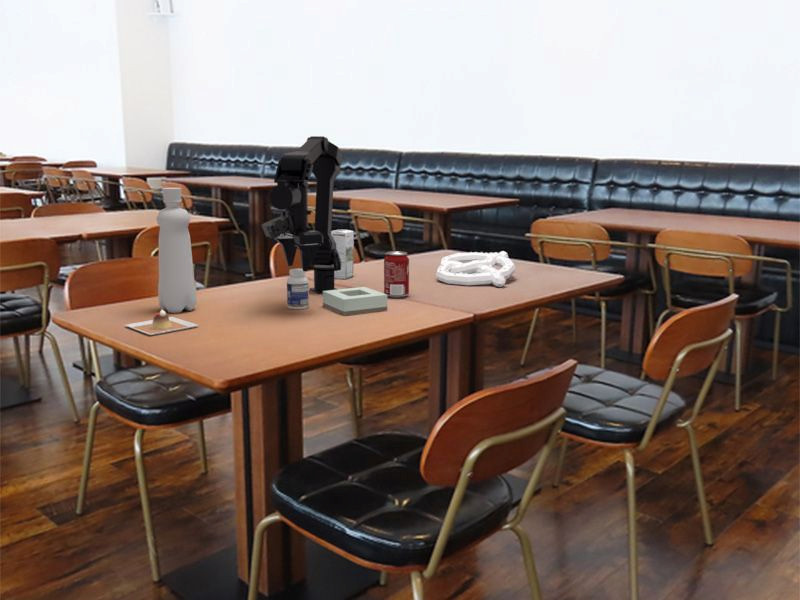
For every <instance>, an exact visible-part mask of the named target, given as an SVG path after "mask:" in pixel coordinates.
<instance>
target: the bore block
mask: <svg viewBox="0 0 800 600" xmlns="http://www.w3.org/2000/svg"><path fill="white" fill-rule="evenodd" d="M337 289H338V288H337ZM322 307H323V308H325V307H326V309H328V310H330V311H333V312H335V313H337V314H339V315H342V316H344V317H346V316H352V315H353V316H354V315H360V314H361V315H362V314H369V313H378V312H386V311H385V310H387V311H388V297H387V294H384V292H380V291H377V290H374V289H372V288H369V287H367V286H360V287H350V288H342V289H341V288H340V289H338V290H329V291H323V293H322Z"/></svg>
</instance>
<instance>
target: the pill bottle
mask: <svg viewBox="0 0 800 600" xmlns="http://www.w3.org/2000/svg"><path fill="white" fill-rule="evenodd" d="M306 272H307V271H303V269H302V268H290V269H289V272H288V273H289V276H290V277H288V278H287V279H286V297H287V298H286V299H287V301H286V302H287V308H288V309H290V310H305V309H309V305H310V302H309V301H310V300H309V299H310V297H309V296H310V295H309V294H310V293H309V279H308V278H307V277H306Z"/></svg>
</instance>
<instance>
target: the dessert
mask: <svg viewBox="0 0 800 600" xmlns="http://www.w3.org/2000/svg"><path fill="white" fill-rule="evenodd" d="M171 322H174V323H177V324H180V325H183V326H185V327H179V328H174V329H171V328H173V326H172V323H171ZM147 325H151V327H150V329H151V330H153V331H154V330H156V331H157V332H153V333H151V332H147V331H144V330H141V329H139V328H136V327H141V326H147ZM124 326H125V327H128V328H130V329H133V330H135V331H137V332H140V333H143V334H146V335H149V336H157V335H163V334H168V333H173V332H174V333H175V332H179V331H184V330H188V329H194V328H196V327H198V326H199V324H196V323H193V322H190V321H187V320H184V319H182V318H178V317H175V316H169V315H168V314H167V313H166V311H163V310H162V308H161V310H160V311H157V312H156V313H155V314H154V315H153V319H151V320H145V321H138V322H133V323H127V324H124ZM158 330H159V332H158ZM161 330H162V331H161Z"/></svg>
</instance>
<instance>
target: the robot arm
mask: <svg viewBox="0 0 800 600" xmlns="http://www.w3.org/2000/svg"><path fill="white" fill-rule="evenodd" d="M342 164H343V154H342V152H341V150H340V148H339V146H337V145H335V144H334V143H332V142H331V141H329V139H328V137H325V136H324V135H323V136H321V135H320V136H316V135H314V136H309V137H307V139H306V141H305V142H304V143H303V144H302V145H301V146H300V147H299V148H297V150H296V151H292V152H286V153H284V154H282V155H281V157H280V159H279V160H278V162H277V167H276V170H275V174H274V175H275V176H274V180H273V182H274V183H275V184H277V185H276V186H275V187H272V189H271V191H270V193H269V200H270V201H269V202H270V204H271V205H272V206H273V207H274V208H275V209H277V210H281V211H280V216H278V217H276V218H273V219H271V220H268V221H266V222H264V223H262V224H261V228H262V229H263V233H264V235H265V237H266V238H268V237H269V239H274V240H275V241H276V242H278V244H280V245H281V248H282V251H283V254H284V257H285V260H286V263H287V266H288V267H292V266H294V261H295V258H296V254H297V251H298V250H299V255H300V256H299V257H300V263H301V269H303V271H305V272H308V271H310V270H313V287H308V290H309V291H311V292H314V293H316V294H323V291H329V290H338V288H336V287H335V278H334V271H337V270H341V259H340V256H339V254H338V251H337V249H336V242H335V240H334V239H333V237H332V235H331V231H332V223H333V220H332V219H333V201H334V200H333V197H334V183H335V181H336V179H337V177H338V176H339V174H340V173H341V166H342ZM312 174H313V175H314V177H315V180H316V189H315V206H314V207H315V208H314V209H315V210H314V229H313V230H312V226H309V216H311V214H312V210H310V209H309V207H308V206H309V204H308V202H309V201H308V198H309V197H308V187H309V182H308V181H310V179H311V176H312ZM332 265H334V266H332Z"/></svg>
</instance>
